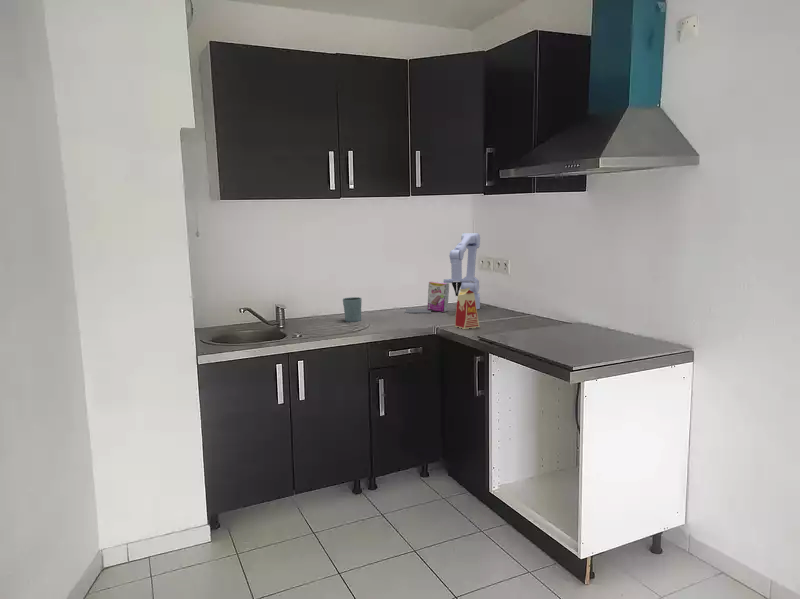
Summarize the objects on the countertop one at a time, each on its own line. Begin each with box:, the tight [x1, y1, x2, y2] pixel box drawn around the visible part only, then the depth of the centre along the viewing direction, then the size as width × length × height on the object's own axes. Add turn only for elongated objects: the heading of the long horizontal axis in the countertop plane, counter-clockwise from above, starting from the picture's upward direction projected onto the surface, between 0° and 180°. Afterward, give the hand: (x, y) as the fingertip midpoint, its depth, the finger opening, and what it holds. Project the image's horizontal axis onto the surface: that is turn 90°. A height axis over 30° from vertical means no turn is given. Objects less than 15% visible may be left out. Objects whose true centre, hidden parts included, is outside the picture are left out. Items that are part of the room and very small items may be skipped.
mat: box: [404, 308, 433, 314], centre depth 339 cm, size 15×13×1 cm
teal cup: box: [342, 296, 362, 323], centre depth 314 cm, size 10×10×12 cm
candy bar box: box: [426, 281, 450, 313], centre depth 337 cm, size 11×5×16 cm, turn 58°
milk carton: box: [454, 288, 480, 330], centre depth 288 cm, size 9×9×20 cm
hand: (456, 295), depth 325 cm, fingers closed
